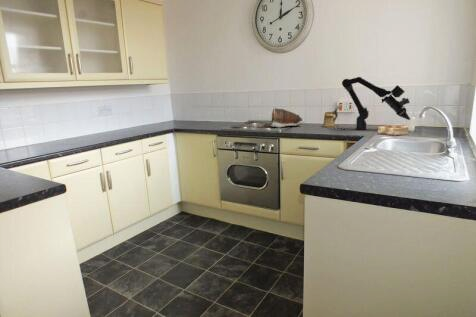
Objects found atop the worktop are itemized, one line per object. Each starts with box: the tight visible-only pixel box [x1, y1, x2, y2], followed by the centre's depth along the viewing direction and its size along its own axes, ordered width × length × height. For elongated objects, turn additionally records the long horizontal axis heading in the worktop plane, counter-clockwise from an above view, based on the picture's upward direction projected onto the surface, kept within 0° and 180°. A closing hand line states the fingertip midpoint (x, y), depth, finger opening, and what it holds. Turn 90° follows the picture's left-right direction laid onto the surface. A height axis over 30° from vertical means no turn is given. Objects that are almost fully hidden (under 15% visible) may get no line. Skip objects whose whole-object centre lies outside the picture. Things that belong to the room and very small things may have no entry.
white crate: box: [403, 116, 416, 132], centre depth 221 cm, size 6×6×9 cm
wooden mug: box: [322, 103, 342, 128], centre depth 251 cm, size 9×14×18 cm, turn 81°
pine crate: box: [377, 124, 409, 137], centre depth 211 cm, size 13×13×4 cm
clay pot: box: [270, 107, 304, 129], centre depth 260 cm, size 15×15×25 cm
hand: (409, 118), depth 220 cm, fingers open, 9 cm apart
